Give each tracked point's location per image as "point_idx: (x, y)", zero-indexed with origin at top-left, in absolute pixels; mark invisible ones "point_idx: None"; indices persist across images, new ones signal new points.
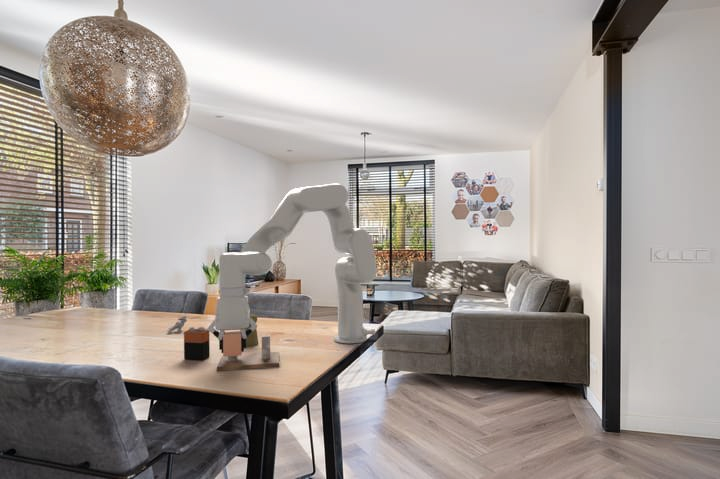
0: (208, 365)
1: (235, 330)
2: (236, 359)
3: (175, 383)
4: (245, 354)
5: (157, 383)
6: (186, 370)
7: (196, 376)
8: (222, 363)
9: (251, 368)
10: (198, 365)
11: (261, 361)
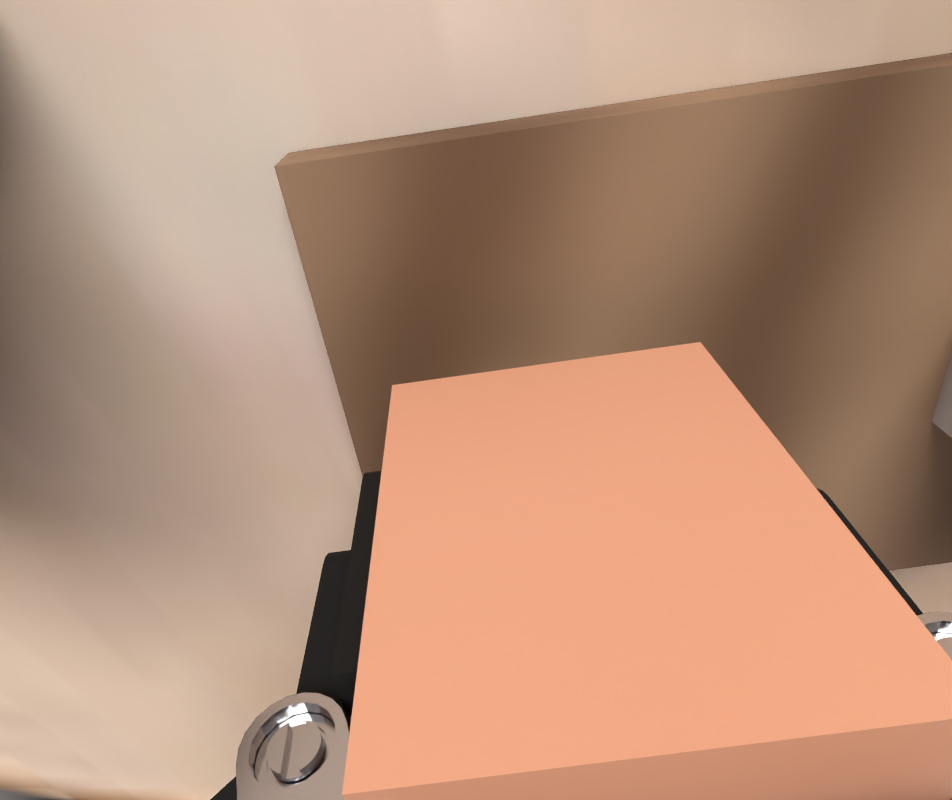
0: (221, 428)
1: (736, 750)
2: None
3: (184, 790)
4: (714, 132)
5: (37, 790)
6: (56, 568)
7: (271, 694)
8: None
9: None
10: (81, 421)
11: (909, 497)
